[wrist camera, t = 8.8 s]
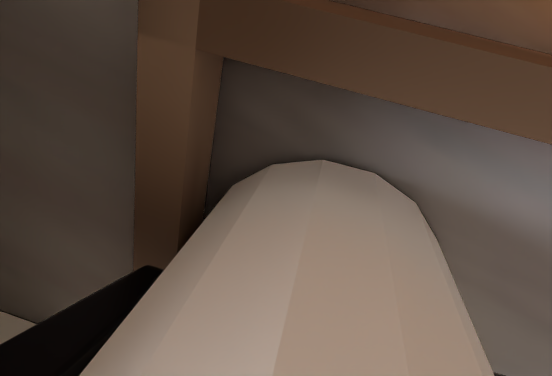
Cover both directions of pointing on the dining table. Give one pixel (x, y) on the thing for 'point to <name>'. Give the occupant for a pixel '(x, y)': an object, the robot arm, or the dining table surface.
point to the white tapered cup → (302, 288)
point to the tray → (309, 65)
